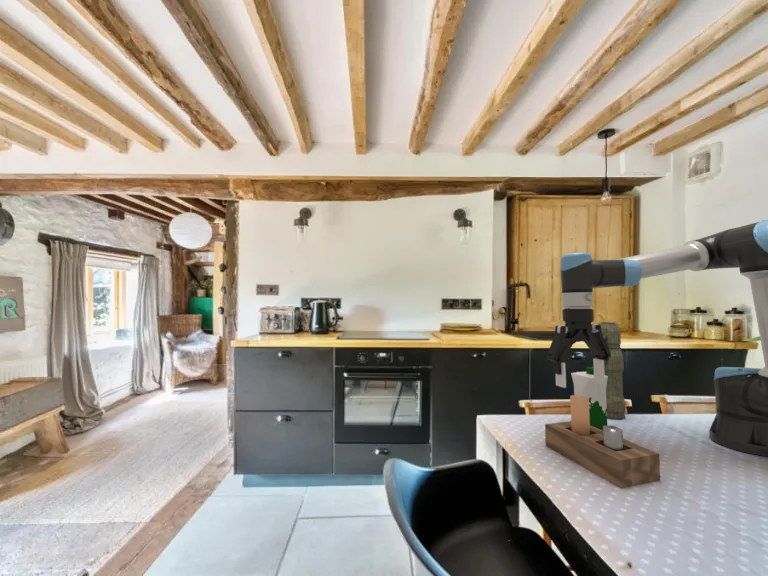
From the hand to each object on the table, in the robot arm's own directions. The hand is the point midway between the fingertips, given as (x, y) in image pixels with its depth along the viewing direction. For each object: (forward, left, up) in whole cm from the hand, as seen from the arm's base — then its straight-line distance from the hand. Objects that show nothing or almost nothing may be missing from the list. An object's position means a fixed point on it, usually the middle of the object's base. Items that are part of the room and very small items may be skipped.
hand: (580, 384), depth 88 cm
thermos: (-39, -23, -20) cm, 49 cm away
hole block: (0, +4, -20) cm, 20 cm away
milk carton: (-21, -16, -20) cm, 33 cm away
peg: (0, 0, -19) cm, 19 cm away
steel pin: (0, +9, -19) cm, 21 cm away
